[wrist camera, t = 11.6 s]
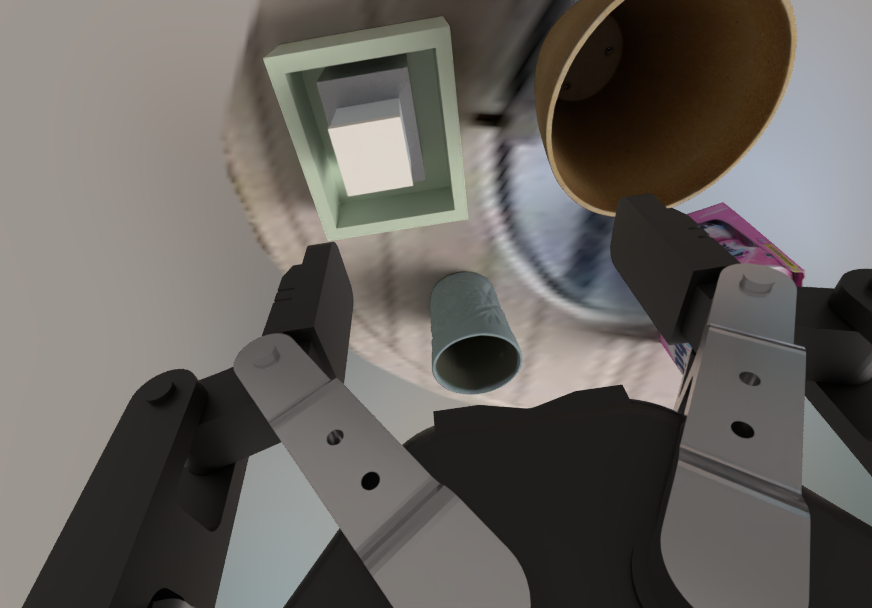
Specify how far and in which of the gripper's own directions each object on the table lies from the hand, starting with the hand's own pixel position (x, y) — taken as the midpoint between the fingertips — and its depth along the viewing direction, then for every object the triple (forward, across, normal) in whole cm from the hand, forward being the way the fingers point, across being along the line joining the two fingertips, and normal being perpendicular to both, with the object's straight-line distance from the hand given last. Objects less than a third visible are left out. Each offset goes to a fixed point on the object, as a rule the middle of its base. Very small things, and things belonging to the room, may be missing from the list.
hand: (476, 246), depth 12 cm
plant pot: (+32, -14, +3) cm, 35 cm away
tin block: (+31, +5, +4) cm, 32 cm away
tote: (+32, +5, +6) cm, 33 cm away
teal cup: (+32, -1, +29) cm, 43 cm away
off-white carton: (+25, +5, +4) cm, 26 cm away
